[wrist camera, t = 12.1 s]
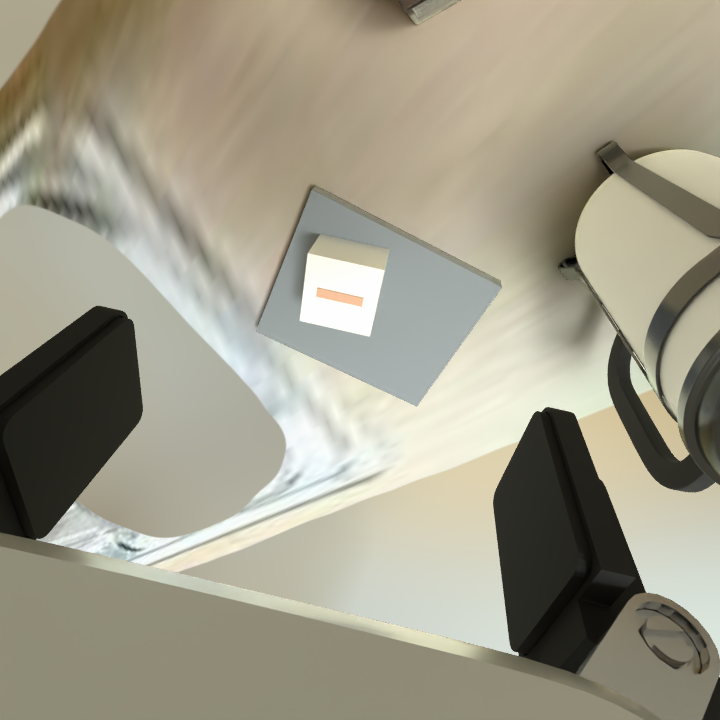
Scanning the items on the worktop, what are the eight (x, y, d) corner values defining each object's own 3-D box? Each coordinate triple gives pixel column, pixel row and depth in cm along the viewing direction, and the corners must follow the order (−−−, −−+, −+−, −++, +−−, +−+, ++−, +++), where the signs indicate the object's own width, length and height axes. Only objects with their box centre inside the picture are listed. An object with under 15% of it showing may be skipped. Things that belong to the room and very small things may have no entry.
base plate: (500, 280, 44) (501, 287, 43) (417, 398, 53) (416, 406, 52) (315, 185, 42) (311, 189, 41) (260, 324, 51) (255, 331, 50)
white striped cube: (389, 249, 43) (384, 271, 38) (376, 311, 46) (369, 337, 42) (320, 233, 43) (307, 254, 39) (312, 296, 46) (299, 321, 42)
